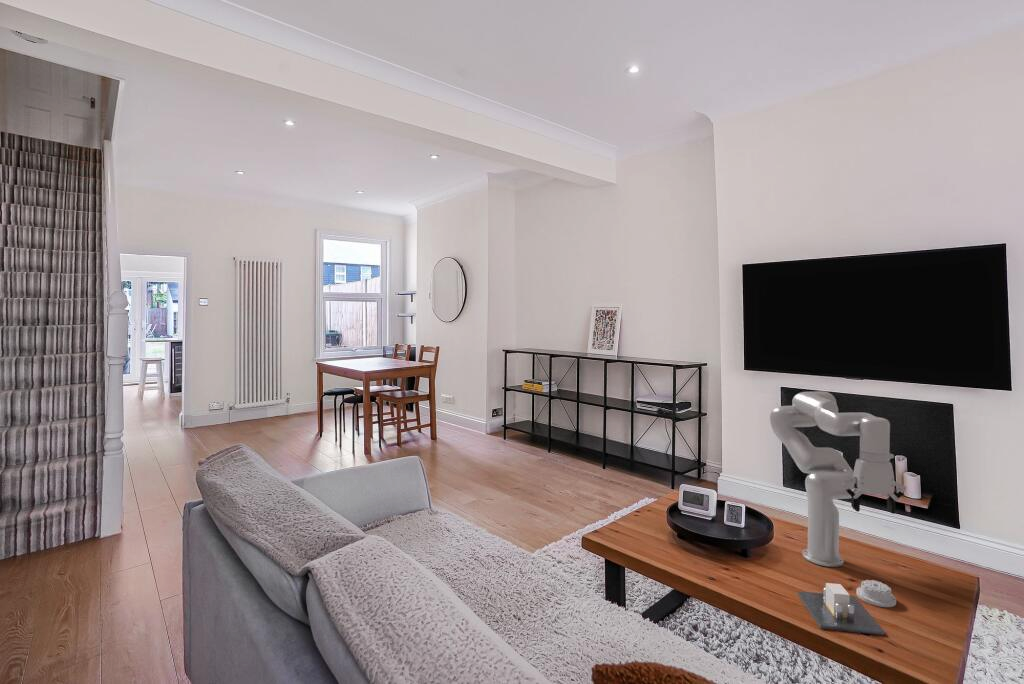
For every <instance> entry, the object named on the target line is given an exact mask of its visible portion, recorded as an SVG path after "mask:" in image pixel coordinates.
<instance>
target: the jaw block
mask: <svg viewBox="0 0 1024 684" xmlns="http://www.w3.org/2000/svg"><path fill="white" fill-rule="evenodd" d="M825 587H826V604H827V605H828V606H829V608H830V609H831V610H832V612H833V613H834V614H836V603H841V604H842V615H847V604H850V596H851V595H850V594H849V593H848V591H847V590H846V588H844V587H843V585H842V584H840V583H831V582H825Z"/></svg>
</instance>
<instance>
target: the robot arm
mask: <svg viewBox="0 0 1024 684" xmlns="http://www.w3.org/2000/svg"><path fill="white" fill-rule="evenodd" d="M791 401H792V402H791V404H792V405H781V406H778V407H775V408H774V409H772V411H771V412H770V415H769V422H770V426H771V428H772V431H773V433H774V434H775V436H776V438H778V439H779V441H780V442H781V443H782V444H783V445H784V446H785V448H786V450H787V452H788V454H789V455H790V457H791V458H792V459H793V462H794V463H795V465H796V466H797V468H798V469H799V470H800V471H801V472H802V473H804V474H807V475H806V477H805V480H804V486H805V490H806V496H807V548H805V549H803V550H802V556H803V558H804V559H805V560H807V561H808V562H811V563H813V564H816V565H819V566H824V567H830V568H836V567H842V566H843V565H844V562H845V559H844V558H843V557H842V556H841V555H840V554H839V553H840V552H839V551H840V549H839V548H840V547H839V544H840V543H839V541H840V539H839V538H840V513H839V509H838V508H837V506H836V504H835V503H834V500H843V499H845V500H846V499H851V500H850V501H851V507H852V509H853V510H854V511H856V512H860V508H861V507H860V506H861V505H860V502H861V500H860V499H859V497H860V496H861V495H863V494H868V495H883V496H884V495H887V496H888V497H887V498H886V510H887V511H888V512H889V513H890V514H895V511H897V510H896V509H897V502H898V501H899V499H900V498H901V497H902V496H903V494H904V493H905V491H906V490H907V486H905V485H904V484H902V483H900V482H897V481H895V475H894V470H893V464H892V462H890V461H891V459H894V458H895V455H894V453H891V452H890V448H891V447H890V446H891V445H890V443H891V442H890V439H891V437H890V436H891V435H890V433H891V423H890V421H889V420H888V419H886V418H884V417H880V416H875V415H873V414H871V413H869V412H865V411H864V412H862V411H861V412H854V411H853V412H839V407H838V405H837V400H836V397H835V396H834V395H833V394H832V393H830V392H829V391H820V390H819V391H802V392H798V393H797V394H795V395H794V396H793V398H792V400H791ZM816 426H817V427H818V428H819V429H820V430H822V431H824V432H826V433H828V434H831V435H833V436H837V437H854V436H855V437H857V436H858V437H859V458H856V460H855V463H854V467H853V469H852V468H851V466H850V464H849V463H848V462H847V460H846V459H845V457H844V456H843V455H842V454H841V453H840V452H839V450H837V449H835V448H832V447H816V446H814V445H813V444H812V443H811V441H810V440H809V438H808V436H807V435H805V434H804V433H803V432H802V431H800V430H798V429H796V428H811V427H816ZM895 487H897V490H895Z"/></svg>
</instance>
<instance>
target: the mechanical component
mask: <svg viewBox="0 0 1024 684" xmlns="http://www.w3.org/2000/svg"><path fill="white" fill-rule="evenodd" d="M860 583H861V584H860V586H859V587H857V588H856V596H857V597H858V599H860V600H861V601H863V602H865V603H868V604H870V605H873V606H875V607H881V608H893V607H895V606H896V605H897V598H896V597H895V596H894V595H893V594H892V587H889V586H888V585H887V584H885V583H882V582H881V581H878V580H874V579H872V580H871V579H870V580H869V579H866V580H862V581H861V582H860Z"/></svg>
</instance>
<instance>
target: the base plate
mask: <svg viewBox="0 0 1024 684" xmlns="http://www.w3.org/2000/svg"><path fill="white" fill-rule="evenodd" d="M797 596H798V597H799V599H800V601H802V603H803V605H804V606H805V608H806V609H807V611H808V612H809V613H810V615H811V617H812V618H813V620H814V622H815V623H816V624H817V625H818V628H819V629H823V630H831V631H843V632H851V633H861V634H868V635H870V634H871V635H879V636H886V631H885V630H884V628H882V627H881V626H880V624H879V623H878V622H877V621H876V619H875V618H874V617H873V616H872V615H871V614H870V613H869V612H868V610H867V609H866V608H865V607H864V606H863V604H862V603H861V602H860V601H859V600H858V599H857V598H856V597H855V596H854V595H850V604H847V615H842V604H841V603H836V614H834V613H833V612H832V610H831V609H830V608H829V606H828V605H827V604H826V586H823V592H813V591H812V592H811V591H800V590H798V591H797Z"/></svg>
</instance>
